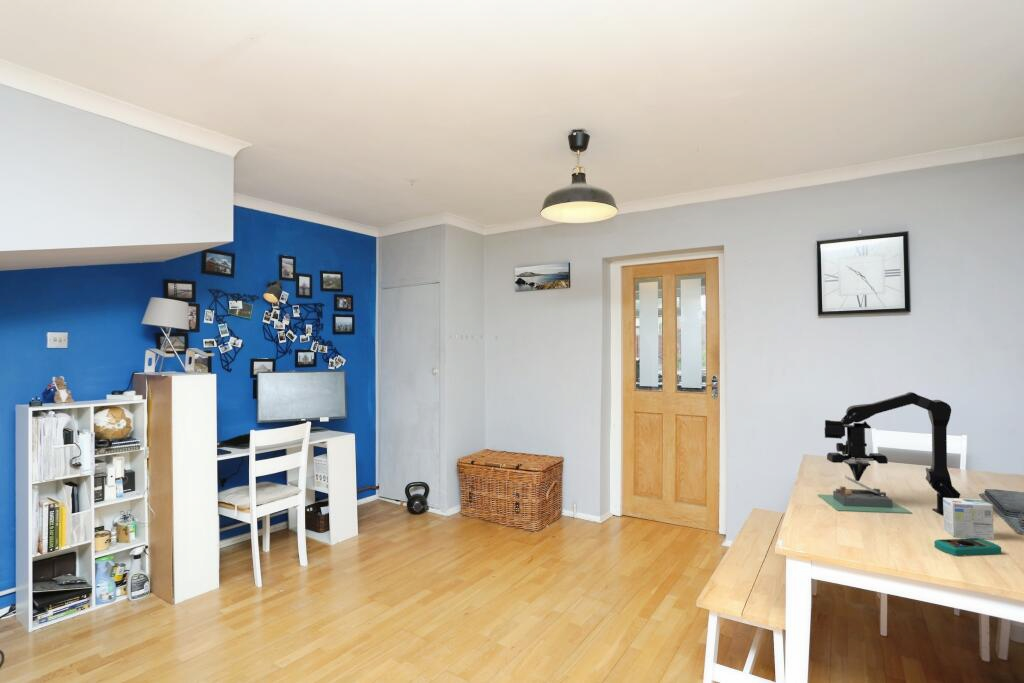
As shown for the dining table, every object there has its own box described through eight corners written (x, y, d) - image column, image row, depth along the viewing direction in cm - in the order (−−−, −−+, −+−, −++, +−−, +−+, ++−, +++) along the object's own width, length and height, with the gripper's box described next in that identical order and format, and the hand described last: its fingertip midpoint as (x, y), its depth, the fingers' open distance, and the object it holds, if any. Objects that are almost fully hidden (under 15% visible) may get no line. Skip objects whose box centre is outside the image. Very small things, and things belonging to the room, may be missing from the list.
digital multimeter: (931, 548, 158) (931, 538, 158) (979, 546, 159) (978, 536, 159) (953, 558, 151) (953, 547, 151) (1003, 555, 152) (1002, 545, 152)
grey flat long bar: (878, 494, 198) (879, 493, 198) (847, 479, 200) (848, 477, 200) (874, 492, 201) (876, 490, 200) (844, 477, 203) (845, 475, 203)
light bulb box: (982, 532, 169) (981, 498, 169) (995, 540, 162) (994, 504, 162) (942, 530, 172) (941, 496, 172) (953, 537, 165) (952, 502, 165)
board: (912, 513, 188) (912, 512, 188) (837, 510, 193) (837, 509, 193) (884, 497, 207) (884, 496, 207) (817, 495, 212) (817, 494, 212)
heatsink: (892, 507, 194) (892, 493, 194) (844, 506, 197) (843, 492, 197) (879, 499, 203) (878, 486, 203) (833, 498, 207) (833, 484, 207)
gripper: (873, 436, 207) (874, 476, 206) (821, 435, 210) (822, 475, 210) (887, 441, 196) (889, 483, 195) (832, 440, 199) (833, 482, 199)
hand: (857, 480), depth 200 cm, fingers closed
